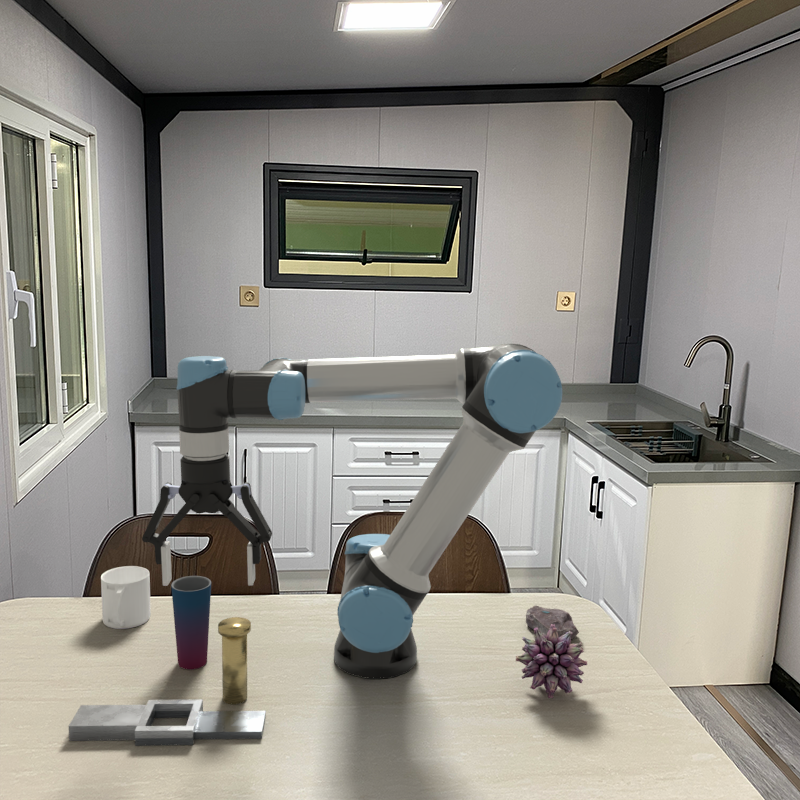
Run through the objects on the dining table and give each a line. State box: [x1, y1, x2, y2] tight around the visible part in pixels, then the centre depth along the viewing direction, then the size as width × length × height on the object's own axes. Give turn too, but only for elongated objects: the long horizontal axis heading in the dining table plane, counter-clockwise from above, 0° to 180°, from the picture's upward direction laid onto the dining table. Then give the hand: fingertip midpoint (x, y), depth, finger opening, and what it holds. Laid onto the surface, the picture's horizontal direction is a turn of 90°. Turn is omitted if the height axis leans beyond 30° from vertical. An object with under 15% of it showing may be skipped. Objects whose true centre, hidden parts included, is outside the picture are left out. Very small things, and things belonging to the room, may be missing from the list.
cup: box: [170, 575, 212, 671], centre depth 141 cm, size 7×7×15 cm
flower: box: [515, 624, 588, 699], centre depth 135 cm, size 12×12×12 cm
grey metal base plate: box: [67, 698, 267, 747], centre depth 122 cm, size 28×8×2 cm, turn 94°
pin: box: [217, 616, 252, 706], centre depth 130 cm, size 5×5×13 cm
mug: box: [100, 565, 151, 630], centre depth 156 cm, size 12×9×9 cm
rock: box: [525, 605, 580, 640], centre depth 158 cm, size 8×11×5 cm
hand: (209, 582), depth 129 cm, fingers open, 13 cm apart
